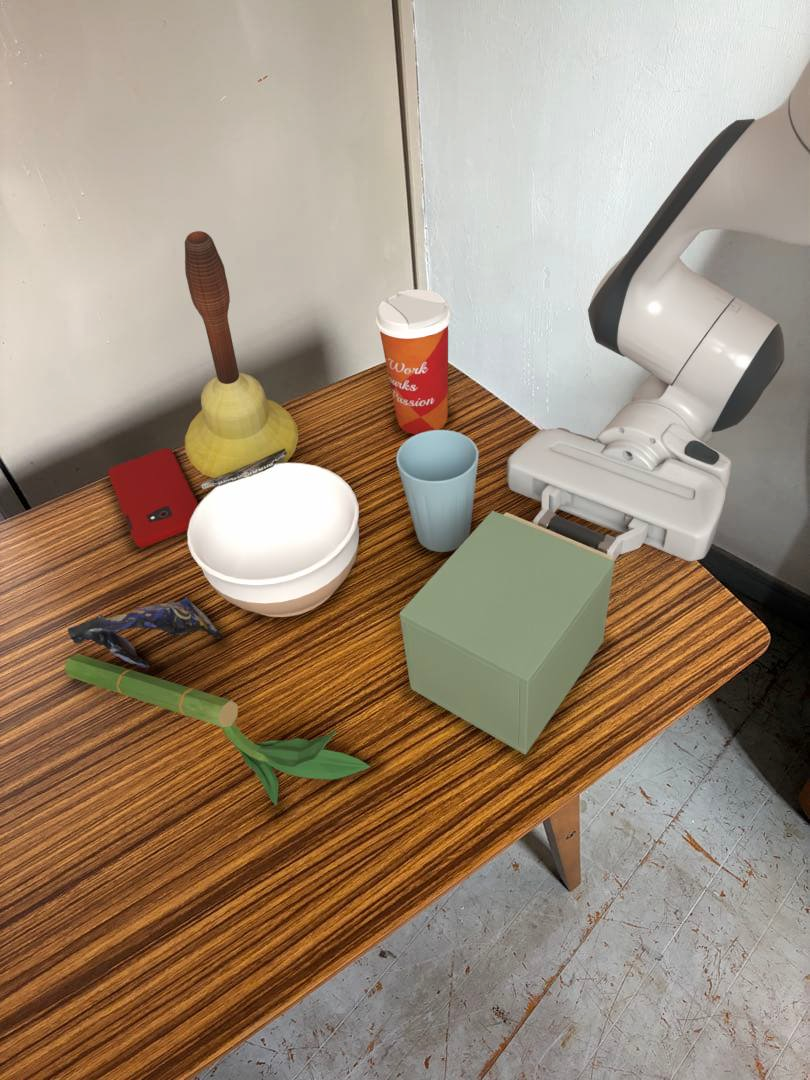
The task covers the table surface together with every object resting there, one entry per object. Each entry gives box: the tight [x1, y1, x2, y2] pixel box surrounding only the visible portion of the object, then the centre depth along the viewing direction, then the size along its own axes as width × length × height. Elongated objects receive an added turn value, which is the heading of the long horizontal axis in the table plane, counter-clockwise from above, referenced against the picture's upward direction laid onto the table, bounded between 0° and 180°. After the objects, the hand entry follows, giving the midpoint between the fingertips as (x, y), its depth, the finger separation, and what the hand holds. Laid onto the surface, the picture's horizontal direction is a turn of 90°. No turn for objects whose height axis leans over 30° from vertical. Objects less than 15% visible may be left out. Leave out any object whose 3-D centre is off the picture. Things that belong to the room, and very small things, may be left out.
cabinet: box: [399, 510, 616, 755], centre depth 66 cm, size 13×11×10 cm
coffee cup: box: [374, 289, 452, 435], centre depth 90 cm, size 8×8×15 cm
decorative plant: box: [63, 653, 371, 807], centre depth 66 cm, size 6×8×30 cm
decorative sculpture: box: [199, 448, 287, 490], centre depth 83 cm, size 20×1×10 cm
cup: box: [395, 429, 480, 553], centre depth 78 cm, size 8×8×10 cm
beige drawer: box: [503, 511, 613, 561], centre depth 68 cm, size 17×10×9 cm, turn 143°
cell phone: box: [107, 447, 200, 548], centre depth 89 cm, size 8×15×1 cm, turn 27°
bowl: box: [186, 462, 360, 618], centre depth 76 cm, size 16×16×8 cm
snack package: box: [67, 596, 223, 671], centre depth 71 cm, size 12×6×12 cm
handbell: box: [184, 230, 299, 479], centre depth 76 cm, size 12×12×25 cm
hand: (571, 543), depth 71 cm, fingers closed on beige drawer, 5 cm apart
